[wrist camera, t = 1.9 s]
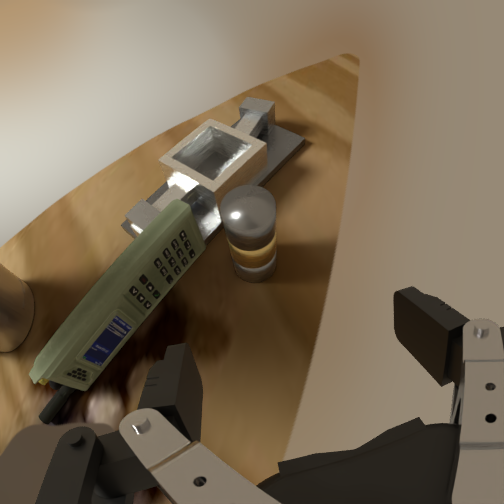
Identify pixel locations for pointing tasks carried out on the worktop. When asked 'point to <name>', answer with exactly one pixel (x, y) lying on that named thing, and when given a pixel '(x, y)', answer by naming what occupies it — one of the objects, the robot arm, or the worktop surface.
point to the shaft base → (218, 166)
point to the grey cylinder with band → (251, 231)
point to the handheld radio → (118, 304)
